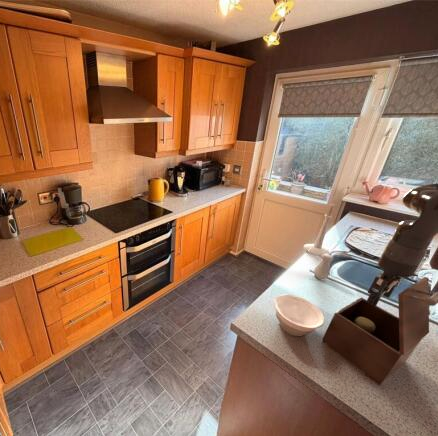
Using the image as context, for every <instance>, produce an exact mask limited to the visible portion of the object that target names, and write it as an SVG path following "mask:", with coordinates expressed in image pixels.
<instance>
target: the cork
mask: <svg viewBox="0 0 438 436" xmlns="http://www.w3.org/2000/svg"><path fill="white" fill-rule="evenodd" d="M354 324H356V325H357V326H359V327H360V328H362V329H364V330H365V331H367V332H368V333H372V332H373V331H374V330H375V325H374V323H373V322H372V321H371V320H369V319H367V318H365V317H357V318H356V319H355V320H354Z"/></svg>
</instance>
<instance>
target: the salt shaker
mask: <svg viewBox="0 0 438 436" xmlns="http://www.w3.org/2000/svg"><path fill="white" fill-rule="evenodd" d="M320 257H321V260H320V262H319V263H318V265H317V266H316V267H315V268H314V271H313V274H314V277H315V276H316V277H317V278H319V279H318V280H320V279H324V280H326V279H327V278H328V277H329V275H330V266H331V262H333V260H334V257H333V256H332V255H331V254H323V255H322V256H320ZM316 277H315V278H316ZM317 278H316V279H317Z"/></svg>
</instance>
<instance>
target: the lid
mask: <svg viewBox="0 0 438 436" xmlns="http://www.w3.org/2000/svg"><path fill="white" fill-rule="evenodd" d="M429 282H430V281H429V277H428V276H424V277H422V278H421V279H419V280H417V281H416V282H415V283H413V284H412V285H410V286H409V287H407V288H405V289H404V290H403V291H401V292H399V293H398V294H397V297H398V300H397V302H398V318H399V340H400V354H402V355H405V354H406V353H407V352H408V351H409V350H410V349H411V348H412V347H413V346H415V345H416V344H417V343H418V342H419V341H420V340H421V339H422V340H423V339H424V338H425V337H426V336H427V335H428V334H429V333H430V306H432V307H434V306H436V305H438V291H436V292H431V291H430V289H429V287H430V286H429V285H430V284H429ZM422 340H421V341H422ZM421 341H420V342H421ZM420 342H419V343H420Z"/></svg>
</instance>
